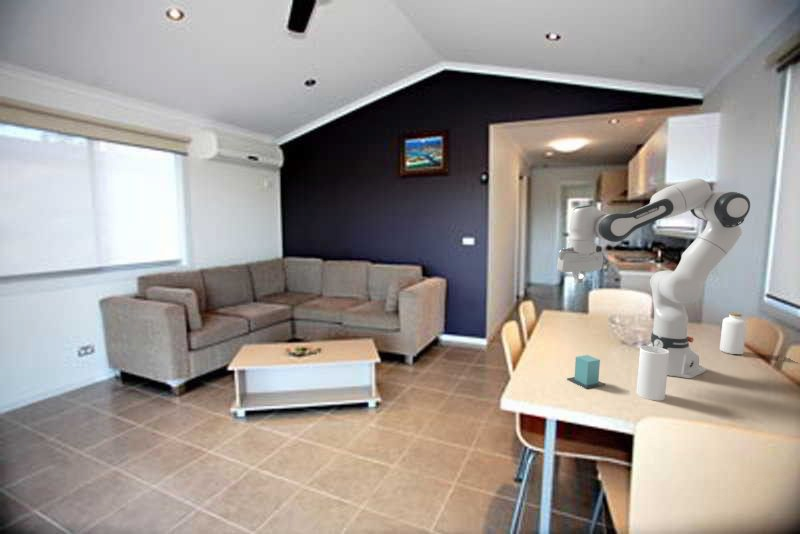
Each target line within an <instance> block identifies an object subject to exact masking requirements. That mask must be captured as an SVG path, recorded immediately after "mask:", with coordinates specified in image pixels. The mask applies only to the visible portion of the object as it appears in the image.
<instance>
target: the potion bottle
mask: <svg viewBox="0 0 800 534" xmlns="http://www.w3.org/2000/svg"><path fill="white" fill-rule="evenodd" d="M747 324H748V323H747V321H746V320H745V319H743V318H742V314H741V313H738V312H729V314H728V317H724V318H723V319H722V325H721V334H720V340H719V341H720V342H719V351H721V352H722V351H723V352H722V353H724V352H726V353H725V354H727V353H730V354H729V355H732V354H741V355H743V354H744V349H745V341H746V335H747V333H746V332H747Z"/></svg>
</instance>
